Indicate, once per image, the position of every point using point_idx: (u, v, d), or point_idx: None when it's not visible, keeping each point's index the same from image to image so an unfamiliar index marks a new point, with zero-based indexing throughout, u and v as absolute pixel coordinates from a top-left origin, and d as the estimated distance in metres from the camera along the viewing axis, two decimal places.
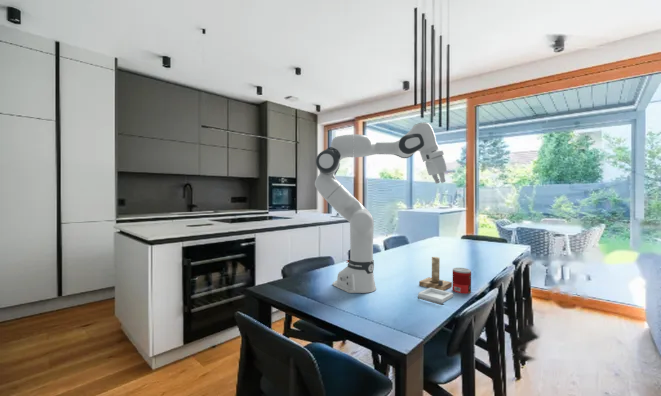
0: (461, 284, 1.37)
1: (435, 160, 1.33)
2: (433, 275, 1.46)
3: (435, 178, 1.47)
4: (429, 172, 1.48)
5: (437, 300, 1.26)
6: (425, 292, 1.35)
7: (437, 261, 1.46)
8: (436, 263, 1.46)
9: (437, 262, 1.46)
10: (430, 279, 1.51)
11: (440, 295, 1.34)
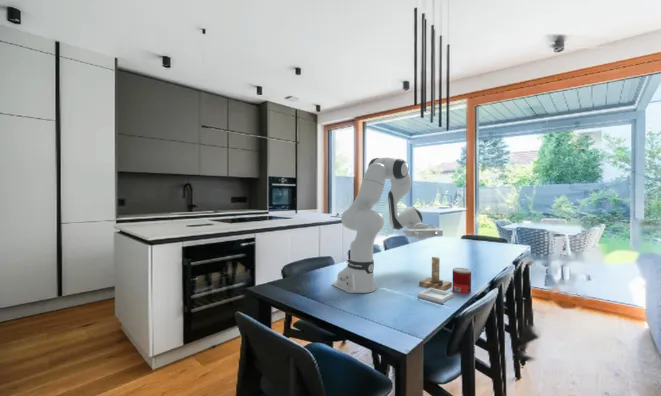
0: (461, 284, 1.37)
1: None
2: (433, 275, 1.46)
3: None
4: (412, 229, 1.65)
5: (437, 300, 1.26)
6: (425, 292, 1.35)
7: (437, 261, 1.46)
8: (436, 263, 1.46)
9: (437, 262, 1.46)
10: (430, 279, 1.51)
11: (440, 295, 1.34)
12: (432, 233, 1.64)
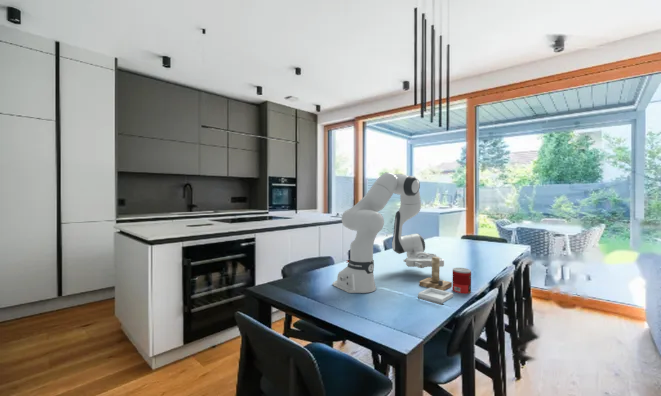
0: (461, 284, 1.37)
1: None
2: (433, 275, 1.46)
3: None
4: (413, 259, 1.62)
5: (437, 300, 1.26)
6: (425, 292, 1.35)
7: (437, 261, 1.46)
8: (436, 263, 1.46)
9: (437, 262, 1.46)
10: (430, 279, 1.51)
11: (440, 295, 1.34)
12: None
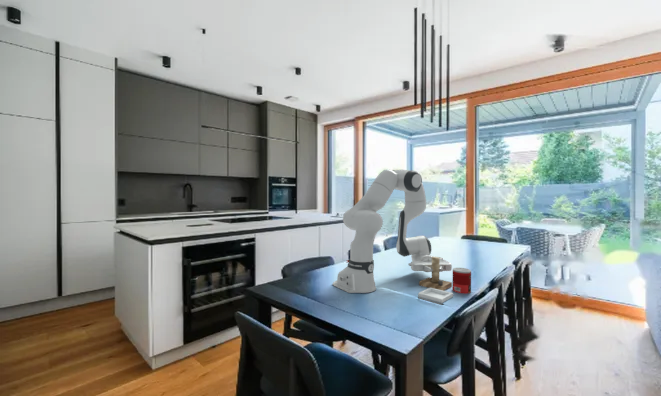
0: (461, 284, 1.37)
1: None
2: (433, 275, 1.46)
3: None
4: (419, 263, 1.53)
5: (437, 300, 1.26)
6: (425, 292, 1.35)
7: (437, 261, 1.46)
8: (436, 263, 1.46)
9: (437, 262, 1.46)
10: (430, 279, 1.51)
11: (440, 295, 1.34)
12: None
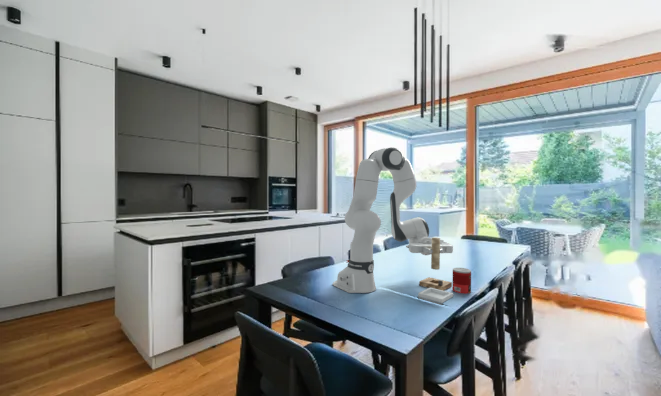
0: (461, 284, 1.37)
1: None
2: (433, 257, 1.35)
3: None
4: (418, 244, 1.41)
5: (437, 300, 1.26)
6: (425, 292, 1.35)
7: (437, 241, 1.34)
8: (436, 244, 1.34)
9: (437, 242, 1.34)
10: (430, 279, 1.51)
11: (440, 295, 1.34)
12: None
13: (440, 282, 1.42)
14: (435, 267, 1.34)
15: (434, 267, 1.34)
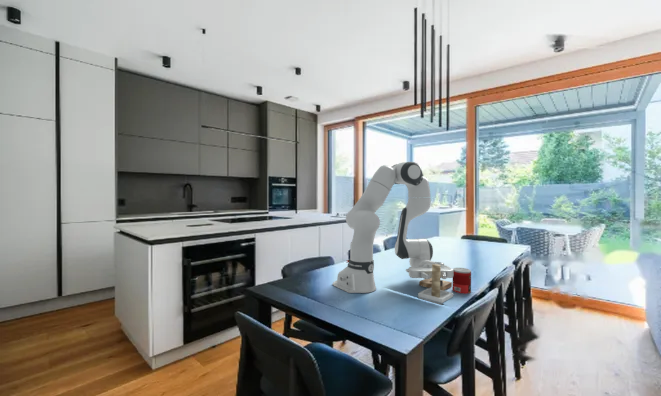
0: (461, 284, 1.37)
1: None
2: (433, 284, 1.32)
3: None
4: (417, 269, 1.38)
5: (437, 300, 1.26)
6: (425, 292, 1.35)
7: (438, 269, 1.31)
8: (437, 271, 1.31)
9: (438, 270, 1.31)
10: (430, 279, 1.51)
11: (440, 295, 1.34)
12: (441, 274, 1.37)
13: (440, 282, 1.42)
14: (435, 295, 1.31)
15: (434, 295, 1.31)
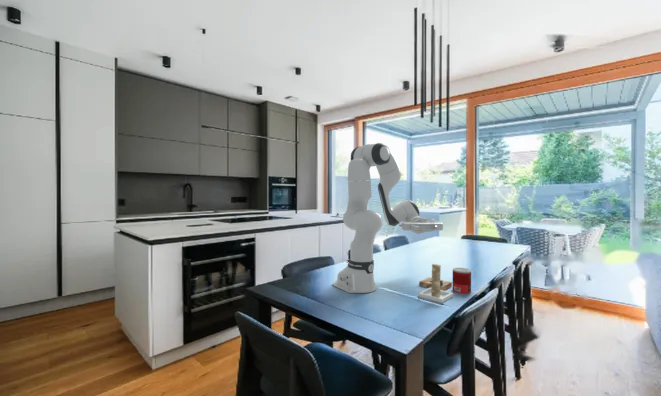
0: (461, 284, 1.37)
1: None
2: (433, 284, 1.32)
3: None
4: (410, 223, 1.50)
5: (437, 300, 1.26)
6: (425, 292, 1.35)
7: (438, 269, 1.31)
8: (437, 271, 1.31)
9: (438, 270, 1.31)
10: (430, 279, 1.51)
11: (440, 295, 1.34)
12: (431, 227, 1.50)
13: (440, 282, 1.42)
14: (435, 295, 1.31)
15: (434, 295, 1.31)
